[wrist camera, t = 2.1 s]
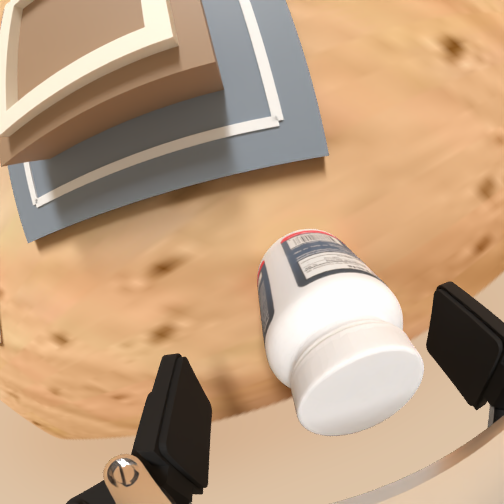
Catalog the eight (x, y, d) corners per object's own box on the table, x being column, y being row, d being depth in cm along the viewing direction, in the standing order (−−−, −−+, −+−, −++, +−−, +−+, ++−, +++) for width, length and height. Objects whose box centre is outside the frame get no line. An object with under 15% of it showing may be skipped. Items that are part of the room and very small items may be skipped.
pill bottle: (304, 329, 16) (343, 456, 8) (237, 280, 15) (231, 420, 6) (367, 266, 15) (459, 369, 6) (304, 205, 13) (390, 288, 5)
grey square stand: (244, -78, 6) (245, -128, 1) (324, 155, 13) (375, 158, 7) (12, 22, 7) (-32, 8, 2) (35, 239, 13) (-22, 273, 8)
